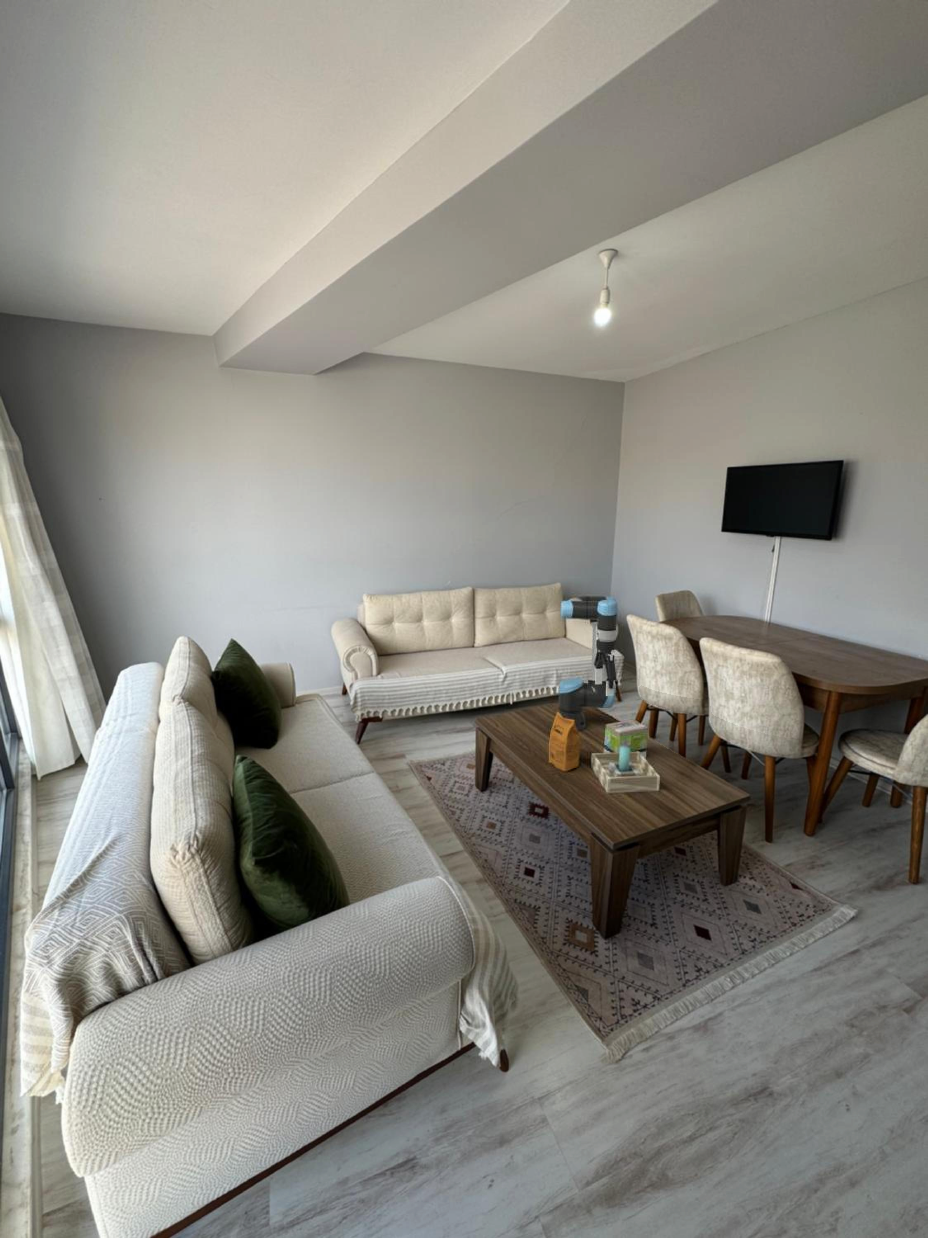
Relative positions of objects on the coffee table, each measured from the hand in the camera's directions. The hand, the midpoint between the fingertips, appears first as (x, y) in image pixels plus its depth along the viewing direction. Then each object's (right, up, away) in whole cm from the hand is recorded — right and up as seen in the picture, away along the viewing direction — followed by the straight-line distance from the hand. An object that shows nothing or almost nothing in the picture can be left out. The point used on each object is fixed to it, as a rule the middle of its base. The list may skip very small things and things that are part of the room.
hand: (603, 689), depth 206 cm
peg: (+6, -34, -6) cm, 35 cm away
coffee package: (-15, -33, +6) cm, 37 cm away
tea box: (+12, -31, +12) cm, 35 cm away
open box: (+6, -35, -5) cm, 36 cm away
